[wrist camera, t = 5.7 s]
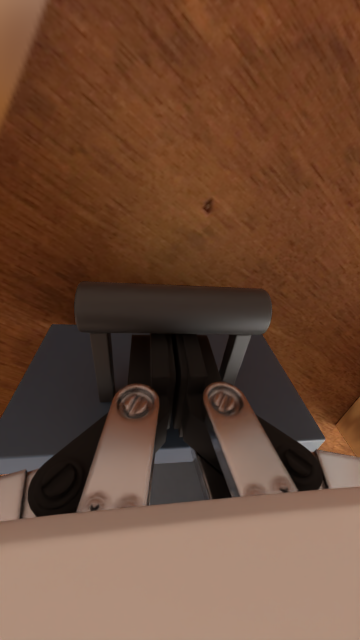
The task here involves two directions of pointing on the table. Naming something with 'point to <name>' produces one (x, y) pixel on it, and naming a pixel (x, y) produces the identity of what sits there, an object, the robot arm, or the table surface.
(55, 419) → the blue pull-out drawer box
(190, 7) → the table surface
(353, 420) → the wooden block
